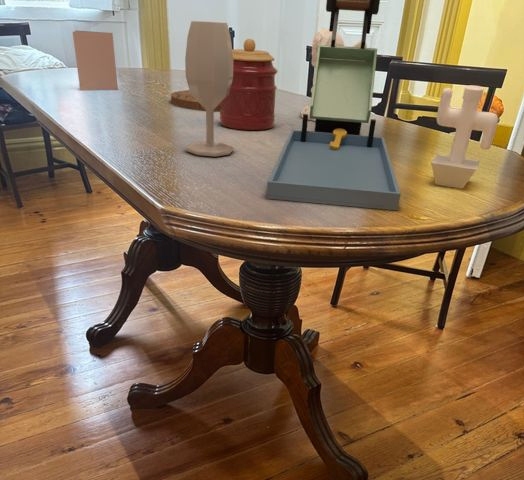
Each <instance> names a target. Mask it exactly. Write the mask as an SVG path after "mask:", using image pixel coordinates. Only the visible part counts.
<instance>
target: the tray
mask: <svg viewBox="0 0 524 480" xmlns="http://www.w3.org/2000/svg"><path fill="white" fill-rule="evenodd" d="M301 133H302V130H299V129H298V130H297V129H291V131H290V132H289V135H288V137H287V139H286V141H285V143H284V146H283V147H282V150H281V152H280V154H279V157H278V159H277V161H276V163H275V165H274V167H273V169H272V171H271V174H270V176H269V178H268V180H267V185H266V199H267V200H279V201H288V202H289V201H290V202H300V203H310V204H312V203H313V204H320V205H321V204H322V205H323V204H324V205H333V206H345V207H354V208H364V209H376V210H387V211H398V209H399V204H400V198H401V194H402V193H401V190H400V187H399V184H398V181H397V177H396V174H395V171H394V167H393V164H392V160H391V157H390V153H389V151H388V150H389V149H388V147H387V144H386V140H385V137H384V136H373V143H372V148H369V147H367V142H368V135H361V134H360V135H349V134H347V135H346V137H345V138H342V139H341V143H340V146H339V150H333V149H330V148H329V146H330V142H331V141H333V142H334V141H335V137H334V136H333V133H324V132H315V131H313V130H312V131H310V130H307V132H306V142H301Z"/></svg>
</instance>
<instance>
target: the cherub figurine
mask: <svg viewBox="0 0 524 480" xmlns="http://www.w3.org/2000/svg"><path fill="white" fill-rule="evenodd" d="M312 38H313V39H312V46H311V62H310V63H311V66H312V67H314V68H315V66H316V58H317V51H318V45H331V40H332V32H330V31H329V28H325V27H323V28H320V29H319V30H318V31H317V32H316V34H315V35H314V37H312ZM335 46H345V41H344V39H343V37H342V36H341V35H340V33H339V32H337V33H336V41H335ZM351 47H361V39H360V40H358V41H357V42H356V43H354V44H353V45H352V46H351ZM365 48H368V45H367V41H366V42H365ZM322 59H327V58H322ZM337 60H342V59H337ZM352 61H356V60H352ZM313 82H314V77H313V78H312V83H313ZM312 89H313V86H312V87H311V89H310V93H311V94H312ZM310 105H311V102H310V103H309V104H307V106H304V108H302V109H301V111H300V117H301V118H302V119H303V114H308V121H312V122H316V119H310Z"/></svg>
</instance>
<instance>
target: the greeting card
mask: <svg viewBox="0 0 524 480" xmlns="http://www.w3.org/2000/svg"><path fill="white" fill-rule="evenodd" d="M72 38H73V46H74V53H75V61H76V69H77V76H78V84H79V91H114V90H115V91H116V90H119V88H118V87H119V85H118V75H117V65H116V55H115V45H114V34H113V32H108V31H107V32H106V31H105V32H104V31H91V30H90V31H88V30H76V29H75V30H74V31H72Z"/></svg>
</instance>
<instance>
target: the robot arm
mask: <svg viewBox="0 0 524 480" xmlns="http://www.w3.org/2000/svg"><path fill="white" fill-rule="evenodd" d="M325 3H326V4H325V10H326V13H327V12H329V13H330V20H329V28H328V29H329V31H330V32H333V24H334V15H335V7H336V0H326V2H325ZM380 4H381V0H370V6H369V14H368V24H367V33H366V35H370V34H371V27H372V26H371V25H372V20H373V15H374V16H375V15H376V16H377V15H378V13H379V11H380Z"/></svg>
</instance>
